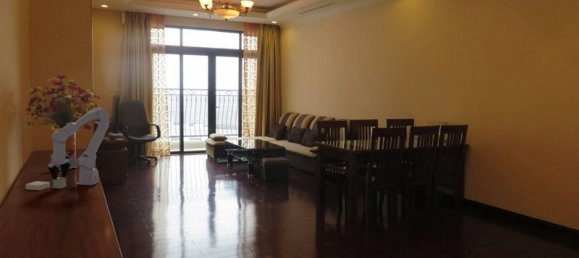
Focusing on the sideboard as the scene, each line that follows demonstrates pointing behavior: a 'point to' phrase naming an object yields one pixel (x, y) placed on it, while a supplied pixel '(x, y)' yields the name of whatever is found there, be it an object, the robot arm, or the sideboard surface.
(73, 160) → the digital clock
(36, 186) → the grey base
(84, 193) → the sideboard surface
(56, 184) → the green block
